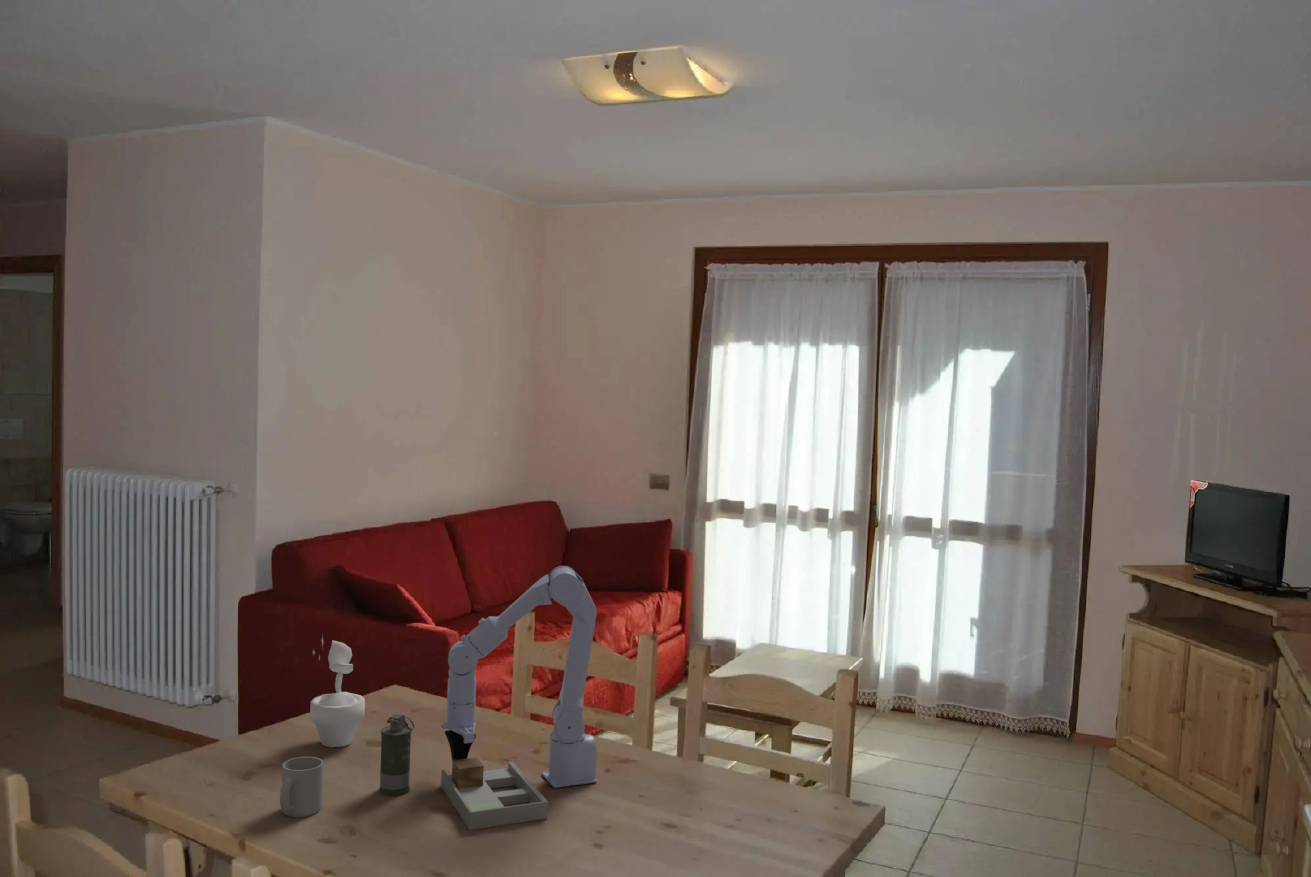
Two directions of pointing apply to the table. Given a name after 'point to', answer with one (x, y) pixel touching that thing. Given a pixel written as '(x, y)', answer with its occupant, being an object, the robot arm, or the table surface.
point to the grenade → (395, 756)
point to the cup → (302, 786)
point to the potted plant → (337, 703)
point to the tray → (497, 799)
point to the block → (467, 772)
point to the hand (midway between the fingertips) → (459, 766)
